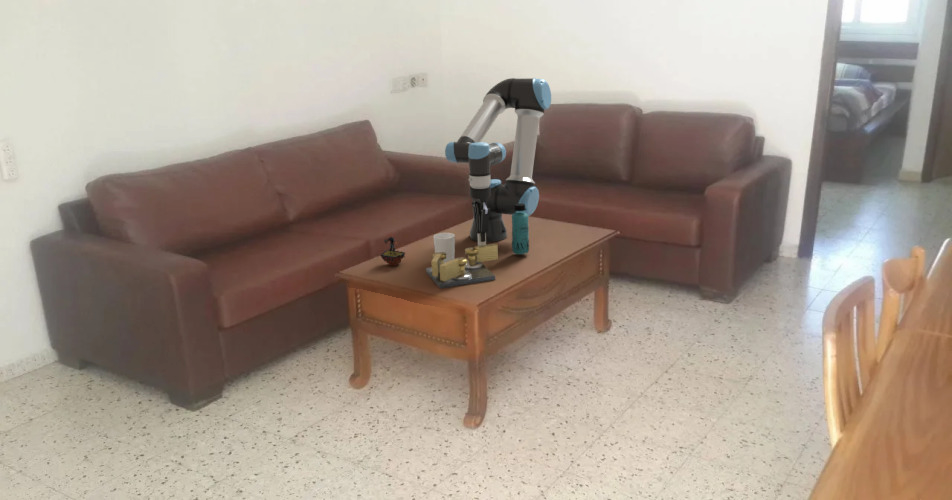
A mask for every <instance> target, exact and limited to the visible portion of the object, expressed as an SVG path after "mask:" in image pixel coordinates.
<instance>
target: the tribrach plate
mask: <svg viewBox="0 0 952 500" xmlns="http://www.w3.org/2000/svg"><path fill="white" fill-rule="evenodd" d="M425 273H426V274H427V275H428V276H429V277H430V279H431V280H432V281H433V282H434V284H435V285H437V287H438V288H439V289H446V288H451V287H458V286H464V285H471V284H477V283H484V282H490V281H495V280H496V275H495V274H494V273H493V272H492V271H491V270H490V269H489V268H487V267H486V266H485V264H483V262H476V264H475V265H469V261H468V264H467V265H465V275H463V276H459V275H458V276H456V277H454V278H451V279H449V280H446V281H442V280H440V274H439V276H432V266H430V267H426V268H425Z"/></svg>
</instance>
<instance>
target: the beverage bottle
mask: <svg viewBox="0 0 952 500" xmlns="http://www.w3.org/2000/svg"><path fill="white" fill-rule="evenodd" d="M514 209H515V211H524V210H526V208H525V204H522V203H519V204H515V208H514ZM511 223H512V224H511V248H512V249H511V251H512V253H513V254H515V255H525V254H528V253H529V251H530V240H529V237H530V236H529V235H530V234H529V228H530V227H529V216H528V215H527V214H526V213H525V212H516V213H514V214H513V215H511Z"/></svg>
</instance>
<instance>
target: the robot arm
mask: <svg viewBox="0 0 952 500" xmlns="http://www.w3.org/2000/svg"><path fill="white" fill-rule="evenodd" d="M551 104H552V92H551V88H550V85H549V83H548V82H547V80H546V79H543V78H536V77H532V78H515V77H512V78H506V79H504V80H502V81H500V82H498V83H496V84H495V85H494V86H492V87H491V88H490V89H489V91H488V92H487V93H486V94H485V95H484V97H483V99H482V105H481V106H479V107H480V108H479V109H478V110H477V111H476V113H475V115H474V116H473V117H472V119H471V121H469V123H468V125H467V126H466V128H465V129H464V131H463V132H462V134H461V135H460V137H459V138H458V139H457V140H456V141H451V142H448V143H447V144H446V146H445V149H444V156H445V158H446V160H447V161H448V162H450V163H456V164H468V170H469V171H468V172H469V173H468V175H469V176H468V177H469V178H467V179H468V182H469V186H470V187H469V197H470V198H472V202H471V205H472V214H473V219H472V223H471V226H470V227H471V228H470V231H469V238H470V239H471V240H473V241H474V242H475V241H476V242H477V246H483V245H487V243H490V242H491V243H493V242H498V241H501V240H504V239H506V238H507V237H508V231H507V227H506V224H505V222H504V220H503V215H510V216H512V215H513V214H514V213H516V212H525V213H526V214H527V215H528V217H529V216H532V214H533V213H534V212H535V211H536V209H537V207H538V205H539V204H538V203H539V200H540V191H539V189H538V188H537V186H536V182H535V181H534V180H533V173H534V172H533V171H534V165H535V163H534V162H535V156H536V150H537V149H536V147H537V140H538V134H539V133H538V132H539V131H538V130H539V124H540V119H541V117H543V116H544V114H545V110H548V109H549V108H550V106H551ZM507 109H514V113H515V114H516V116H517V119H516V127H515V136H514V145H513V152H512V158H511V159H512V160H511V167H510V175H509V176H508V177H507V178H506V179H505V184H502V181H501V179H498V178H494V179H491V167H492V166H495V165H499V164H500V163H501V162H503V161H504V160H505V159H506V156H507V150H506V148H505V146H504V145H503V143H500V142H492V143H488V142H485V141H482V140H483V139H484V138H485V136H486V135H487V133H488V132H489V130H490V129H491V127H492V126H493V124H494V122H495V121H496V120H497V118H498V116H499V115H501V114H503V113H504V112H505V110H507ZM519 203H522V204H525V208H526V210H524V211H515V209H514V208H515V204H519Z"/></svg>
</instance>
